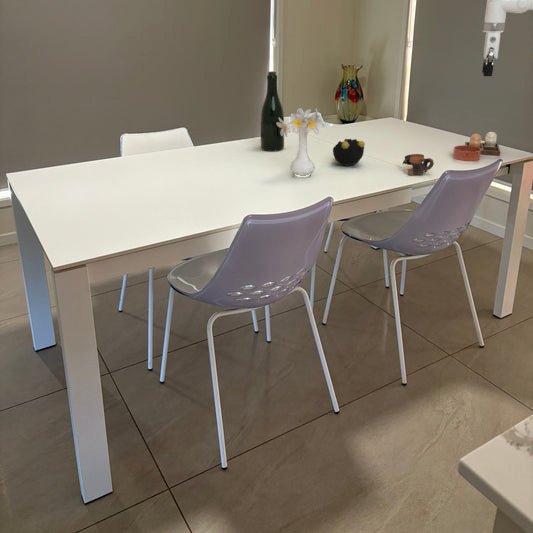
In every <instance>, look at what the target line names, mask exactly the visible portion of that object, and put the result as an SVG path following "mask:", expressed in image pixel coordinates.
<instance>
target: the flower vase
mask: <svg viewBox="0 0 533 533" xmlns="http://www.w3.org/2000/svg"><path fill="white" fill-rule="evenodd" d="M311 112H312V109H310V108H309V109H306V110H305V111H304V110H303V108H301V107H299V108H297V111H296V113H292V112H291V113H290V119H291V121H289V122H288V123H286V122H285V121H284V122H283V121H282V120H281V118H280V117H279V121H280V122H281V123H279V122H277V123H276V124H277V126H278V127H280V128H282V129H281V131H280V133H281V136H283V134H284V137H285V138H288V129H290V128H293V132H294V134H298V147H297V148H298V150H297V154H296V157H295V159H293V161H291V163H290V166H289V170H290V171H291V173H292V174H293V176H294V177H295V178H297V179H307V178H310V177H311V174H313V173H314V171H315V170H316V168H315V167H316V166H315V163H314V161H313V160H311V158H310V156H309V153H308V134H309V133H310V132H311V131H313V133H314V134H316V135H318V134H319V133H320V131H319V128H318V126H322V127H324V128H325V127H326V125H325V124H324V123H323V120H322V119H323V118H322V116H321V114H319V112H318V108H316V107H315V112H313V113H312V114H311ZM310 114H311V115H310ZM294 174H296V175H300V176H306V175H309V174H310V176H308V177H297V176H295V175H294Z"/></svg>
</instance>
